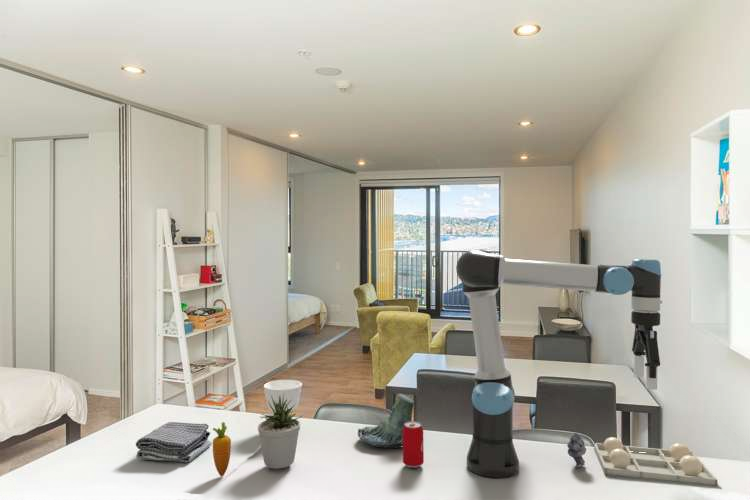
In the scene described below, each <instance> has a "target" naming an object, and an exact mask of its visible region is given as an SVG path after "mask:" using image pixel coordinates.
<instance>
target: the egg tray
mask: <svg viewBox="0 0 750 500" xmlns="http://www.w3.org/2000/svg"><path fill="white" fill-rule="evenodd" d="M593 450H594V452H595V455H596V457H597V459H598V462H599V465H600V467H601V469H602V472H603V475H605V476H610V477H611V476H612V477H621V478H630V479H639V480H651V481H661V482H662V481H663V482H671V483H683V484H692V485H693V484H694V485H702V486H703V485H705V486H713V487H718V478H717V477H715V476H714V475H713V473H712V472H711V471H710V470H709V468H707V466H706V465H705V464H704V462H702V461H701V460H700V459H699V457H698V456H697V455H696V454H695V453H694V452H693V451H690V454H691V456H694V457H696V458H697V459H698V460H699V461H700V462H701V465H702V471H701V473H700V474H699V475H697V476H689V475H687V474H685V473H684V472H683V471H682V470H681V468H680V465H679V462H677V461H675V460H674V459H673V458H672V457H671V455H670V452H669V450H670V449H665V448H663V449H662V448H656V447H655V448H654V447H653V448H652V447H643V446H641V447H640V446H633V445H623V450H624V451H626V452H627V453H628V455H629V457H630V464H629V466H628V467H626V468H624V469H620V468H617V467H615V466H614V465H613V464H612V463H611V461H610V454H608V453H607V452H606V450H605V448H604V443H601V442H593ZM630 451H633V452H630ZM639 452H646V453H639ZM663 454H664V455H663Z"/></svg>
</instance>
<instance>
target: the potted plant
mask: <svg viewBox="0 0 750 500" xmlns="http://www.w3.org/2000/svg"><path fill="white" fill-rule="evenodd" d="M271 397H272V395H271ZM283 400H284V393H283ZM283 400H282V407H281V397H280V396H279V403H278V402H276V400H275V402H276V403H275V402H274V400H273V398H272V401H273V404H274V407H275V411H276V412H275V411H274V409H273V408H272V406H271V405H270V403H269V405H270V407H271V408H272V410H273V412H272V413H273V415H271V414H270V415H268V414H264V413H261V415H262V416H261V417H260V420H261V419H263V418H264V419H265V420H263V421H261V422H259V424H258V425H257V431H258V434H259V439H260V445H261V446H260V447H261V452H262V459H263V463H264V465H265V467H268V468H270V469H283V468H287V467H290V466H291V465H292V464H294V462H295V458H296V453H297V452H296V451H297V445H298V439H299V433H300V432H299V431H300V428H301V422H300V421H299V420H298V419H301V418H302V417H303V416H304V414H303V415H300V416H299V417H296V418H293V417H294V416H296V414H297V413H294V411H292V412H290V411H291V410H292V408H293V407H294V406H293V407H292V408H290V409H288V407H287V405H288V404H289V403H290V401H289V403H288V404H287V405H286V404H285V403H286V401H287V400H288V399H287V400H286V401H285V402H284V403H283ZM268 402H269V401H268ZM285 405H286V406H285ZM284 406H285V408H284ZM286 407H287V411H285V410H286ZM288 415H289V416H288Z"/></svg>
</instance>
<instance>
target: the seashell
mask: <svg viewBox="0 0 750 500" xmlns="http://www.w3.org/2000/svg"><path fill="white" fill-rule="evenodd" d="M567 448H568V449H567V455H568V456H569V457H571V458H572V459H573V460H574V462H575V464H576V465H575V467H576V468H580V467H583V466H585V463H586V462H585V460H584V457H583V455H585V454H586V451H587V448H586V445H585V442H584V440H583V439H582V437H581V435H579V433H577V432H575V433H574V434H570V438H569V441H568V442H567Z"/></svg>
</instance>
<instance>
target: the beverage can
mask: <svg viewBox="0 0 750 500" xmlns="http://www.w3.org/2000/svg"><path fill="white" fill-rule="evenodd" d="M424 449H425V448H424V428H423V426H422V423H421V422H419V421H416V420H415V421H413V420H412V421H409V422H406V423H405V424H404V427H403V447H402V463H403V464H404V465H405V466H406V467H408V468H418V467H421V466H422V465H423V464H424V460H425V459H424V457H425V456H424V451H425V450H424Z"/></svg>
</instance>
